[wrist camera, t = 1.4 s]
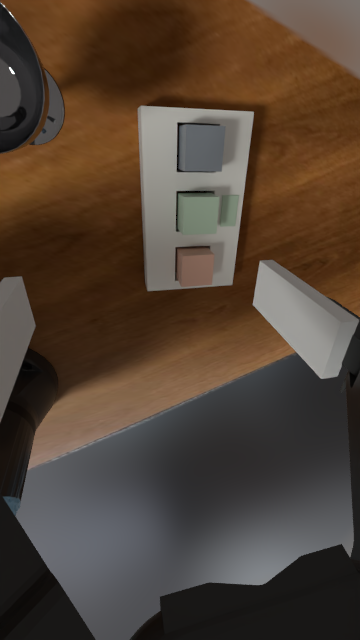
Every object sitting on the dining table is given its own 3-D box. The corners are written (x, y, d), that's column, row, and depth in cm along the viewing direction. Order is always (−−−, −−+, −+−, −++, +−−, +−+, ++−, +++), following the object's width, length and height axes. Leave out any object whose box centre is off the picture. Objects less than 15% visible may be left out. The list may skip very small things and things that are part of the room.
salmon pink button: (204, 275, 40) (211, 284, 38) (176, 277, 39) (181, 286, 37) (206, 246, 38) (214, 254, 35) (176, 247, 37) (182, 256, 35)
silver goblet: (-23, 33, 26) (-141, -70, 13) (72, 69, 28) (48, 12, 16) (-20, 135, 29) (-110, 130, 17) (65, 159, 32) (40, 170, 19)
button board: (224, 276, 44) (232, 285, 41) (144, 282, 41) (147, 291, 39) (242, 113, 33) (255, 111, 31) (137, 108, 31) (140, 105, 28)
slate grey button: (212, 169, 33) (221, 171, 31) (178, 168, 33) (184, 171, 30) (215, 127, 31) (225, 126, 29) (178, 125, 31) (186, 124, 28)
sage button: (208, 227, 37) (216, 233, 34) (177, 228, 36) (183, 234, 33) (210, 192, 35) (219, 197, 32) (177, 193, 34) (184, 197, 31)
